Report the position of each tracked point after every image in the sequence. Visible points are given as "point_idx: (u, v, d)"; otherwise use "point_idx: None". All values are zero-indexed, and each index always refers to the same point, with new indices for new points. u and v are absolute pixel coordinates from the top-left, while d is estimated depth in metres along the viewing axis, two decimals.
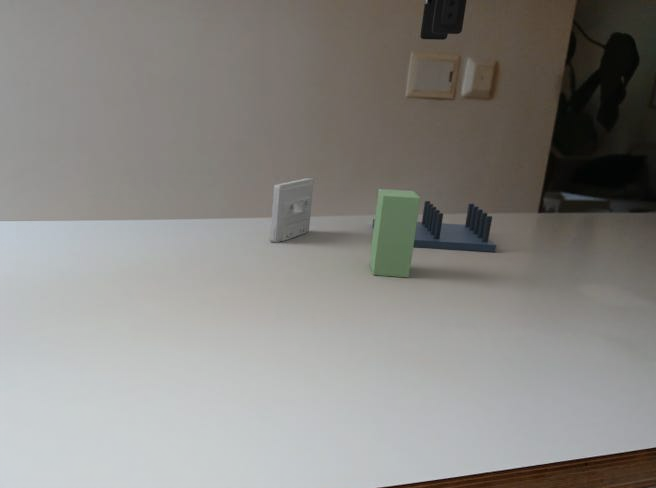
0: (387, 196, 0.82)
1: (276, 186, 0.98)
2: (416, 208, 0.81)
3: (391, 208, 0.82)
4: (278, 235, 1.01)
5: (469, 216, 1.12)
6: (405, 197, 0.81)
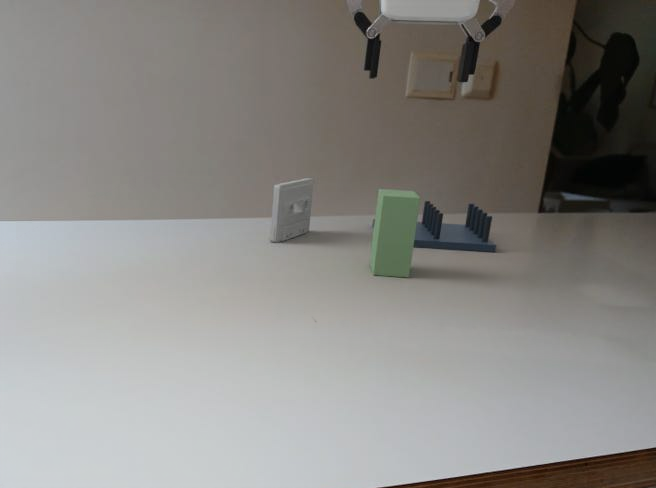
0: (387, 196, 0.82)
1: (276, 186, 0.98)
2: (416, 208, 0.81)
3: (391, 208, 0.82)
4: (278, 234, 1.01)
5: (469, 216, 1.12)
6: (405, 197, 0.81)
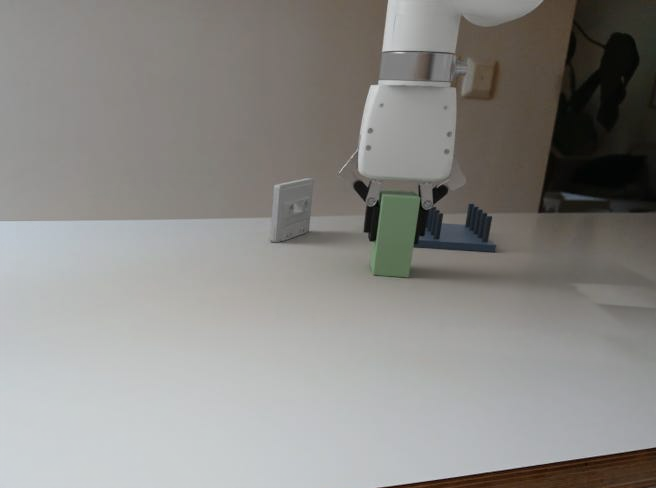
0: (387, 196, 0.82)
1: (276, 186, 0.98)
2: (416, 208, 0.81)
3: (391, 208, 0.82)
4: (278, 234, 1.01)
5: (469, 216, 1.12)
6: (405, 197, 0.81)
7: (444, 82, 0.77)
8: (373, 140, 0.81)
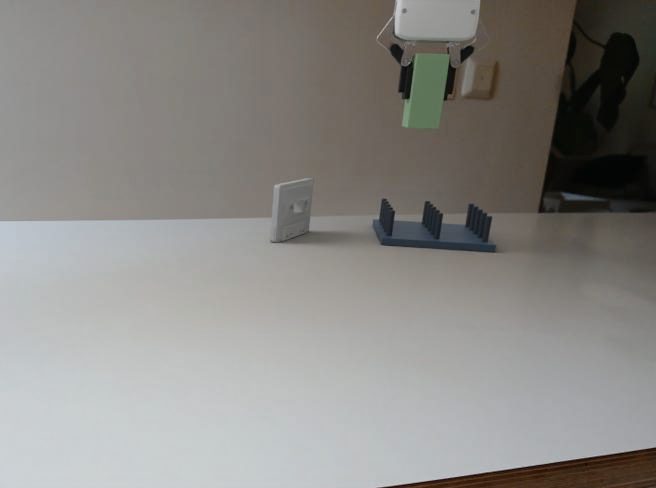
0: (420, 54, 0.93)
1: (276, 186, 0.98)
2: (446, 64, 0.93)
3: (424, 65, 0.93)
4: (278, 234, 1.01)
5: (469, 216, 1.12)
6: (436, 54, 0.93)
7: None
8: (408, 3, 0.92)
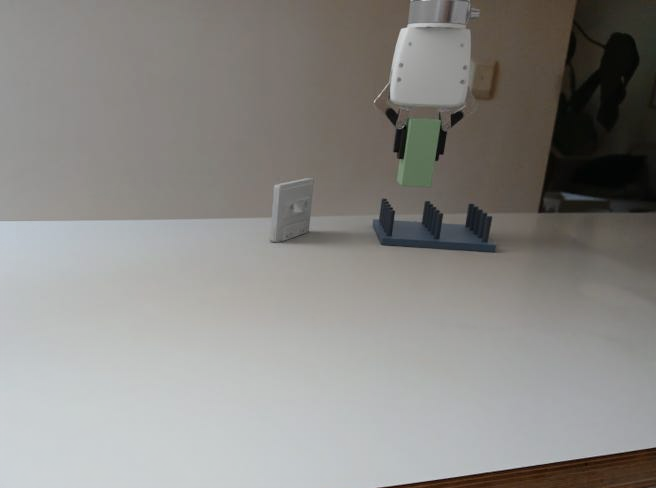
0: (414, 119, 1.01)
1: (276, 186, 0.98)
2: (437, 129, 1.00)
3: (417, 129, 1.01)
4: (278, 234, 1.01)
5: (469, 216, 1.12)
6: (428, 120, 1.00)
7: (461, 24, 0.96)
8: (402, 73, 1.00)
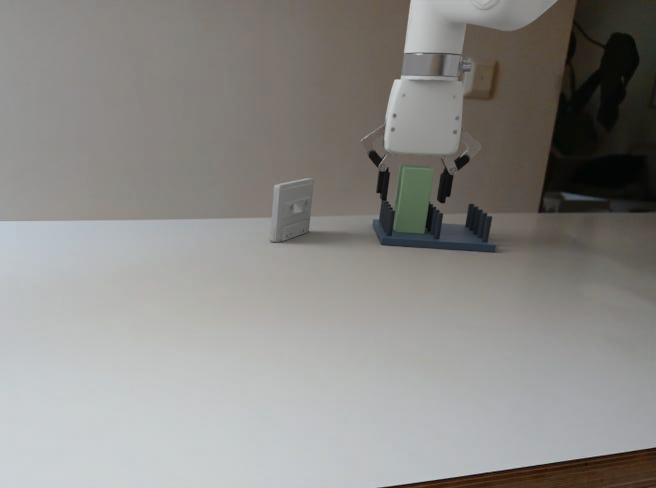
0: (407, 168, 1.03)
1: (276, 186, 0.98)
2: (430, 178, 1.03)
3: (411, 178, 1.03)
4: (278, 234, 1.01)
5: (469, 216, 1.12)
6: (422, 169, 1.03)
7: (453, 77, 0.98)
8: (396, 123, 1.02)
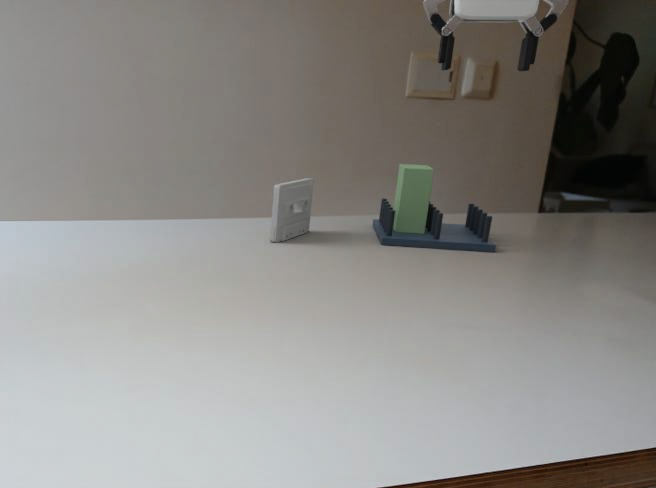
0: (407, 168, 1.03)
1: (276, 186, 0.98)
2: (430, 178, 1.03)
3: (411, 178, 1.03)
4: (278, 234, 1.01)
5: (469, 216, 1.12)
6: (422, 169, 1.03)
7: None
8: None
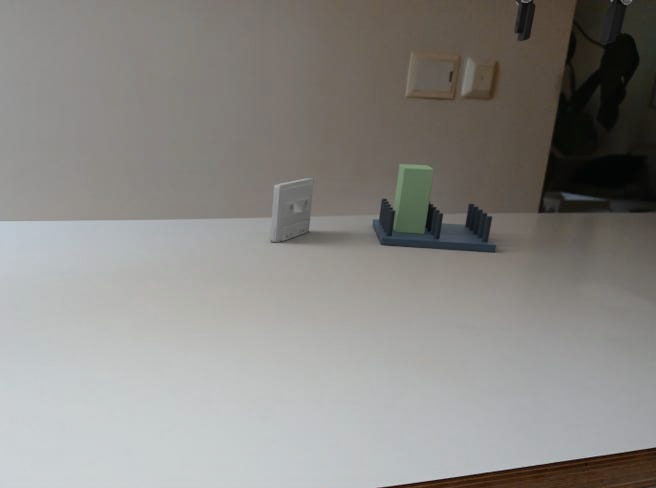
0: (407, 168, 1.03)
1: (276, 186, 0.98)
2: (430, 178, 1.03)
3: (411, 178, 1.03)
4: (278, 234, 1.01)
5: (469, 216, 1.12)
6: (422, 169, 1.03)
7: None
8: None
